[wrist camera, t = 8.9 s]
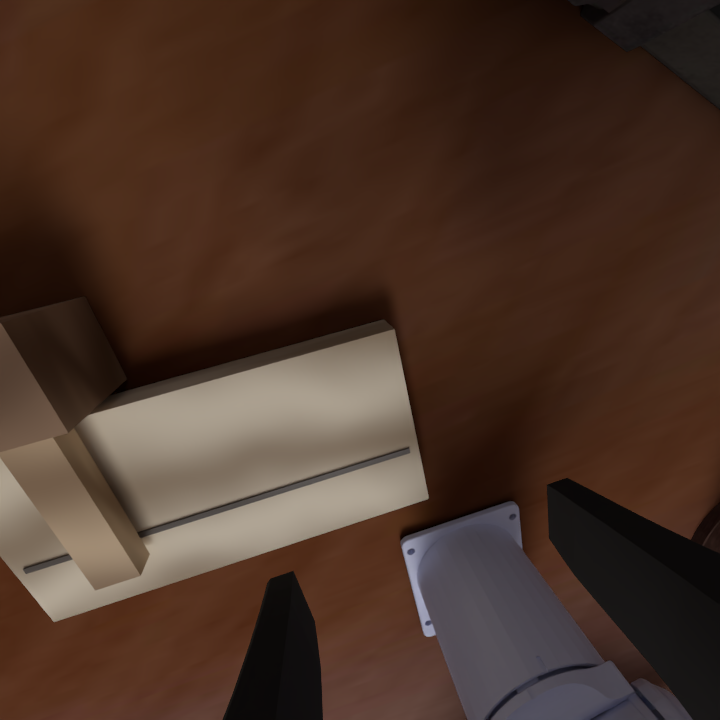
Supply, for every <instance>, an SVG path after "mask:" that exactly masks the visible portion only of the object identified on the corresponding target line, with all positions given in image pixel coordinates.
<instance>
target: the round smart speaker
mask: <svg viewBox="0 0 720 720" xmlns="http://www.w3.org/2000/svg"><path fill="white" fill-rule="evenodd" d="M691 541H693V542H696V543H698V544H700V545H702V546H705V547H707V548H709V549H711V550H713V551H716V552H718V553H720V503H719V504H718V505H717V506H716V507H715V508H714V509H713V510H712V511H711V512H710V513H709V514H708V515H707V516H706V517H705V519H704V520H703V521H702V523H701V524H700V525H699V527H698V528H697V530H696V532H695V533H694V535H693V537H692V539H691Z"/></svg>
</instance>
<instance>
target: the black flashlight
mask: <svg viewBox="0 0 720 720" xmlns="http://www.w3.org/2000/svg"><path fill="white" fill-rule="evenodd" d="M568 1H569V2H570V3H571V4H573V5H574V6H579V5H584V7H583V9H582V11H581V17H582V18H584V19H585V20H586V21H588V22H589V23H590V24H591V25H593V26H594V27H595V28H597V29H598V30H599V31H600V32H602V33H603V34H604V35H605V36H607V37H608V38H609V39H611V40H612V41H613V42H615V43H616V44H617V45H618V46H620V47H621V48H622V49H624V50H625V51H626V52H628V51H630V50H633V49H635V48H637V47H639V46H641V47H642V48H644V49H645V50H646V51H647V52H649V53H650V54H651V55H652V56H654V57H655V58H656V59H657V60H659V61H660V62H661V63H662V64H664V65H665V66H666V67H667V68H669V69H670V70H671V71H672V72H674V73H675V74H676V75H677V76H679V77H680V78H681V79H682V80H684V81H685V82H686V83H687V84H689V85H690V86H691V87H692V88H694V89H695V90H696V91H697V92H699V93H700V94H701V95H702V96H704V97H705V98H706V99H707V100H709V101H710V102H711V103H712V104H714V105H715V106H716V107H717V108H719V109H720V0H568Z"/></svg>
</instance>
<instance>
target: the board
mask: <svg viewBox="0 0 720 720" xmlns="http://www.w3.org/2000/svg"><path fill="white" fill-rule="evenodd" d="M74 429H75V430H76V432H77V434H78V435H79V437H80V439H81V440H82V442H83V444H84V445H85V447H86V449H87V450H88V452H89V454H90V455H91V457H92V459H93V460H94V462H95V464H96V465H97V467H98V469H99V470H100V472H101V474H102V475H103V477H104V479H105V480H106V482H107V484H108V485H109V487H110V489H111V490H112V492H113V493H114V495H115V497H116V498H117V500H118V502H119V503H120V505H121V507H122V508H123V510H124V512H125V513H126V515H127V517H128V518H129V520H130V522H131V523H132V525H133V527H134V528H135V530H136V532H137V533H138V535H139V537H140V538H141V540H142V542H143V543H144V545H145V547H146V548H147V550H148V552H149V553H150V555H149V558H148V560H147V562H146V565H145V567H144V569H143V572H142V574H141V576H139V577H136V578H133V579H130V580H126V581H123V582H120V583H117V584H114V585H111V586H108V587H105V588H102V589H99V590H96V591H95V590H94V588H93V587H92V585H91V584H90V583H89V581H88V580H87V578H86V577H85V576H84V574H83V573H82V571H81V570H80V569H79V567H78V566H77V564H76V563H75V562H74V560H73V559H72V557H71V556H70V555H69V553H68V552H67V550H66V549H65V548H64V546H63V545H62V543H61V542H60V541H59V539H58V538H57V536H56V535H55V534H54V532H53V531H52V529H51V528H50V527H49V525H48V524H47V522H46V521H45V520H44V518H43V517H42V516H41V514H40V513H39V511H38V510H37V509H36V507H35V506H34V504H33V503H32V502H31V500H30V499H29V497H28V496H27V495H26V493H25V492H24V490H23V489H22V488H21V486H20V485H19V483H18V482H17V481H16V479H15V478H14V476H13V475H12V474H11V472H10V471H9V469H8V468H7V467H6V465H5V464H4V462H3V461H2V460H1V458H0V556H1V558H2V559H3V560H4V561H5V563H6V564H7V565H8V566H9V567H10V569H11V570H12V571H13V572H14V574H15V575H16V576H17V577H18V578H19V580H20V581H21V582H22V583H23V585H24V586H25V587H26V588H27V590H28V591H29V592H30V593H31V594H32V596H33V597H34V598H35V599H36V601H37V602H38V603H39V604H40V605H41V607H42V608H43V609H44V610H45V612H46V613H47V614H48V615H49V616H50V618H51V619H52V620H53V621H54V622H56V621H59V620H62V619H65V618H68V617H71V616H74V615H77V614H80V613H83V612H86V611H89V610H92V609H95V608H98V607H101V606H104V605H107V604H111V603H114V602H117V601H120V600H123V599H126V598H129V597H132V596H135V595H138V594H141V593H144V592H147V591H150V590H153V589H156V588H159V587H162V586H165V585H168V584H171V583H174V582H177V581H180V580H183V579H187V578H190V577H193V576H196V575H199V574H202V573H205V572H208V571H211V570H214V569H217V568H220V567H223V566H226V565H229V564H232V563H235V562H238V561H241V560H244V559H247V558H250V557H253V556H256V555H259V554H262V553H266V552H269V551H272V550H275V549H278V548H281V547H284V546H287V545H290V544H293V543H296V542H299V541H302V540H305V539H308V538H311V537H314V536H317V535H320V534H323V533H326V532H329V531H332V530H335V529H338V528H342V527H345V526H348V525H351V524H354V523H357V522H360V521H363V520H366V519H369V518H372V517H375V516H378V515H381V514H384V513H387V512H390V511H393V510H396V509H399V508H402V507H405V506H408V505H411V504H414V503H417V502H421V501H424V500H427V499H429V496H428V491H427V486H426V481H425V476H424V472H423V467H422V462H421V457H420V452H419V447H418V442H417V437H416V432H415V427H414V422H413V417H412V413H411V408H410V403H409V398H408V393H407V388H406V383H405V378H404V373H403V368H402V363H401V358H400V354H399V349H398V344H397V339H396V334H395V329H394V328H393V327H392V326H391V325H389V324H388V323H387V322H386V321H385V320H384V319H383V320H380V321H376V322H372V323H369V324H365V325H362V326H358V327H354V328H351V329H347V330H344V331H340V332H336V333H333V334H329V335H326V336H322V337H318V338H315V339H311V340H308V341H304V342H300V343H297V344H293V345H290V346H286V347H282V348H279V349H275V350H272V351H268V352H264V353H261V354H257V355H253V356H250V357H246V358H243V359H239V360H235V361H232V362H228V363H225V364H221V365H217V366H214V367H210V368H207V369H203V370H199V371H196V372H192V373H189V374H185V375H181V376H178V377H174V378H171V379H167V380H163V381H160V382H156V383H153V384H149V385H145V386H142V387H138V388H135V389H131V390H127V391H124V392H120V393H117V394H113V395H109V396H108V397H107V398H106V399H105V400H104V401H103V402H102V403H101V404H99V405H98V406H97V407H96V408H95V409H94V410H93V411H92V412H91V413H90V414H89V415H87V416H86V417H85V418H84V419H83V420H82V421H81V422H80V423H79V424H78V425H77V426H76V427H74Z"/></svg>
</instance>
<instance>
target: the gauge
mask: <svg viewBox="0 0 720 720" xmlns="http://www.w3.org/2000/svg"><path fill="white" fill-rule="evenodd" d="M126 380H127V377H126V375H125V374H124V372H123V370H122V368H121V366H120V364H119V362H118V360H117V358H116V356H115V354H114V352H113V350H112V348H111V346H110V344H109V342H108V340H107V338H106V336H105V334H104V332H103V330H102V328H101V326H100V324H99V323H98V321H97V319H96V317H95V315H94V313H93V311H92V309H91V307H90V305H89V303H88V301H87V299H86V297H85V296H84V297H80V298H76V299H72V300H68V301H64V302H60V303H56V304H52V305H47V306H43V307H39V308H35V309H31V310H27V311H23V312H19V313H15V314H11V315H7V316H3V317H0V458H1V460H2V461H3V462H4V464H5V465H6V467H7V468H8V469H9V471H10V472H11V474H12V475H13V476H14V478H15V479H16V481H17V482H18V483H19V485H20V486H21V488H22V489H23V490H24V492H25V493H26V495H27V496H28V497H29V499H30V500H31V502H32V503H33V504H34V506H35V507H36V509H37V510H38V511H39V513H40V514H41V516H42V517H43V518H44V520H45V521H46V522H47V524H48V525H49V527H50V528H51V529H52V531H53V532H54V534H55V535H56V536H57V538H58V539H59V541H60V542H61V543H62V545H63V546H64V548H65V549H66V550H67V552H68V553H69V555H70V556H71V557H72V559H73V560H74V562H75V563H76V564H77V566H78V567H79V569H80V570H81V571H82V573H83V574H84V576H85V577H86V578H87V580H88V581H89V583H90V584H91V585H92V587H93V588H94V590H95V591H96V590H99V589H102V588H105V587H108V586H111V585H114V584H117V583H120V582H123V581H126V580H130V579H133V578H136V577H139V576H141V574H142V572H143V569H144V567H145V565H146V562H147V560H148V558H149V555H150V553H149V552H148V550H147V548H146V547H145V545H144V543H143V542H142V540H141V538H140V537H139V535H138V533H137V532H136V530H135V528H134V527H133V525H132V523H131V522H130V520H129V518H128V517H127V515H126V513H125V512H124V510H123V508H122V507H121V505H120V503H119V502H118V500H117V498H116V497H115V495H114V493H113V492H112V490H111V489H110V487H109V485H108V484H107V482H106V480H105V479H104V477H103V475H102V474H101V472H100V470H99V469H98V467H97V465H96V464H95V462H94V460H93V459H92V457H91V455H90V454H89V452H88V450H87V449H86V447H85V445H84V444H83V442H82V440H81V439H80V437H79V435H78V434H77V432H76V430H75V429H74V427H76V426H77V425H78V424H79V423H80V422H81V421H82V420H83V419H84V418H85V417H86V416H87V415H89V414H90V413H91V412H92V411H93V410H94V409H95V408H96V407H97V406H98V405H99V404H101V403H102V402H103V401H104V400H105V399H106V398H107V397H108V396H109V395H110V394H111V393H112V392H114V391H115V390H116V389H117V388H118V387H119V386H120V385H121V384H122V383H123V382H124V381H126Z"/></svg>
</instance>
